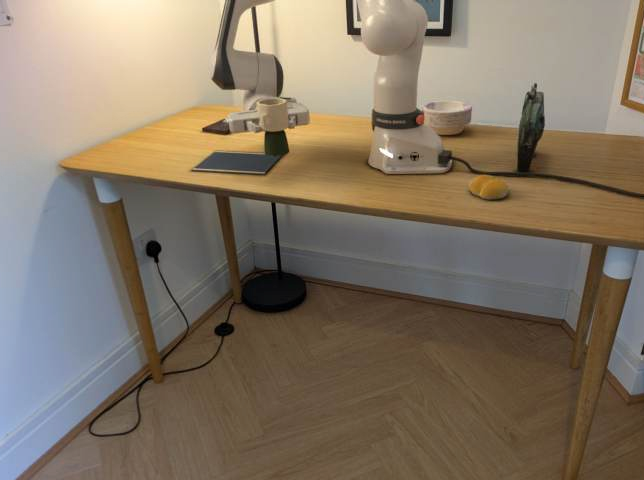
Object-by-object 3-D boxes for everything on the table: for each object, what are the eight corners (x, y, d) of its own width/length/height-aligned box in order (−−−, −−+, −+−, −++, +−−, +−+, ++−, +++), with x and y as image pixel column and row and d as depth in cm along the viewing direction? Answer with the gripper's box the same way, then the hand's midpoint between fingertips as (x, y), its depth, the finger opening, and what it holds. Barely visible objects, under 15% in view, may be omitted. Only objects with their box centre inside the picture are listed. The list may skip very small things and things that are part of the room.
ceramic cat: (517, 149, 159) (527, 76, 149) (541, 151, 158) (552, 77, 147) (510, 174, 143) (520, 93, 133) (536, 176, 142) (548, 95, 131)
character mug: (273, 146, 145) (267, 95, 138) (298, 148, 143) (294, 96, 136) (254, 160, 136) (247, 106, 129) (281, 163, 135) (275, 108, 128)
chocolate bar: (201, 128, 178) (235, 113, 192) (202, 131, 178) (235, 116, 192) (225, 131, 175) (257, 116, 189) (225, 134, 175) (257, 119, 189)
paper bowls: (420, 124, 182) (421, 99, 178) (467, 124, 181) (469, 99, 177) (422, 138, 169) (423, 112, 165) (472, 138, 169) (475, 111, 164)
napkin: (283, 154, 158) (282, 153, 158) (263, 175, 145) (263, 173, 145) (216, 151, 162) (216, 150, 162) (191, 171, 148) (191, 169, 148)
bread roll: (493, 203, 128) (495, 187, 126) (463, 192, 134) (464, 176, 132) (515, 194, 132) (517, 178, 130) (485, 183, 138) (487, 168, 136)
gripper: (222, 105, 142) (229, 119, 131) (300, 97, 148) (314, 109, 137) (225, 130, 145) (233, 145, 134) (302, 121, 151) (316, 135, 140)
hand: (274, 127), depth 135 cm, fingers closed on character mug, 7 cm apart
